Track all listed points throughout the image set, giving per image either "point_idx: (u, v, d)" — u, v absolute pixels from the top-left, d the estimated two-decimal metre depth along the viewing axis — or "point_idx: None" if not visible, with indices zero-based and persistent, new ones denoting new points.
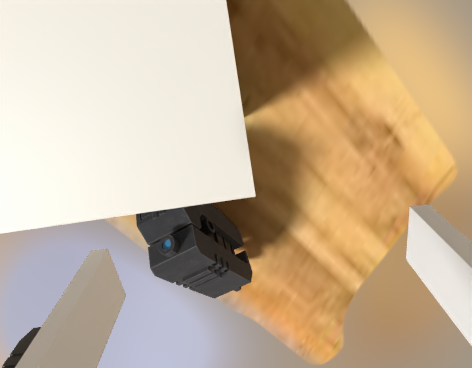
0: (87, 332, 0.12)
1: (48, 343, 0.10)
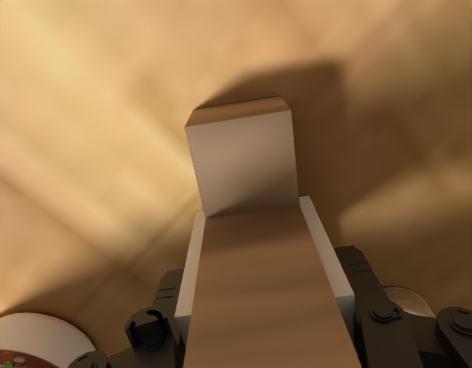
0: None
1: None
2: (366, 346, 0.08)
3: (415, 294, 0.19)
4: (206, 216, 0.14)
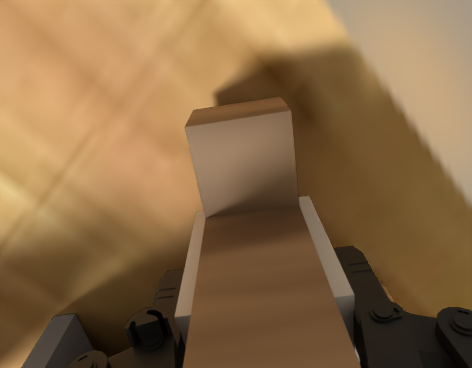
0: None
1: None
2: (366, 346, 0.08)
3: None
4: (206, 216, 0.14)
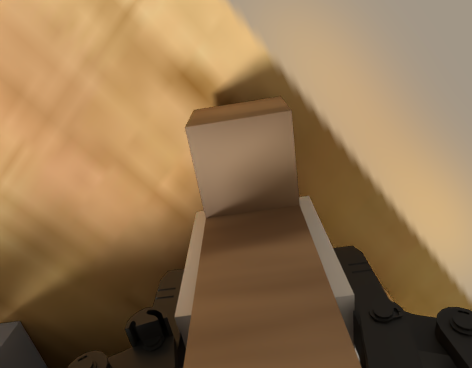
0: None
1: None
2: (366, 346, 0.08)
3: None
4: (206, 216, 0.14)
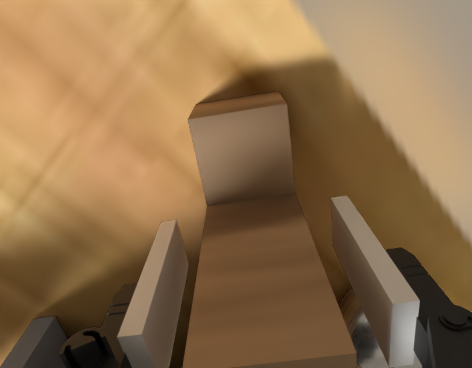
0: (171, 289, 0.13)
1: (150, 292, 0.11)
2: (434, 351, 0.08)
3: None
4: (208, 204, 0.15)
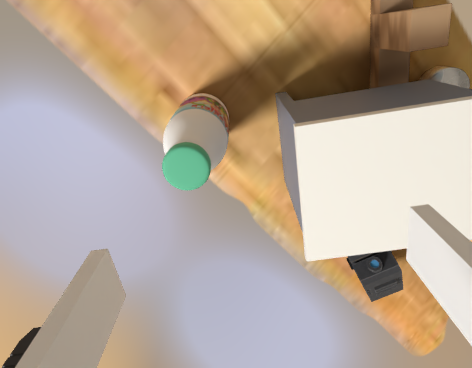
0: (87, 332, 0.12)
1: (48, 343, 0.10)
2: None
3: None
4: (380, 13, 0.41)
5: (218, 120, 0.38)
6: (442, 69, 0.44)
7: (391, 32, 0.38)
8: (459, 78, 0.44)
